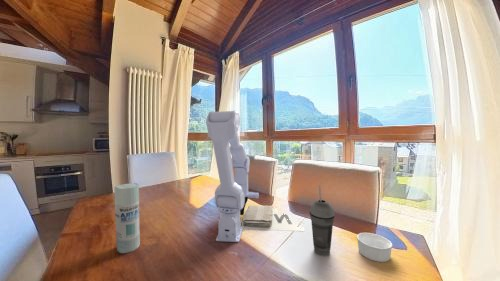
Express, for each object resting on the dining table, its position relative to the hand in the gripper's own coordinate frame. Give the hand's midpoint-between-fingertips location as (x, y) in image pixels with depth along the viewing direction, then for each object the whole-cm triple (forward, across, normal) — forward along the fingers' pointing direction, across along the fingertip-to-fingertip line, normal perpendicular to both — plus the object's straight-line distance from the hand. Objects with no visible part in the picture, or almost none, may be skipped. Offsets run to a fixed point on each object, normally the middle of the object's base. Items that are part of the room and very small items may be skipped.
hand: (242, 214), depth 83 cm
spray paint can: (+2, +33, +25) cm, 42 cm away
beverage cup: (+2, -28, +22) cm, 35 cm away
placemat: (+1, -13, 0) cm, 13 cm away
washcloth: (+2, -7, 0) cm, 7 cm away
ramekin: (+2, -43, +22) cm, 48 cm away
